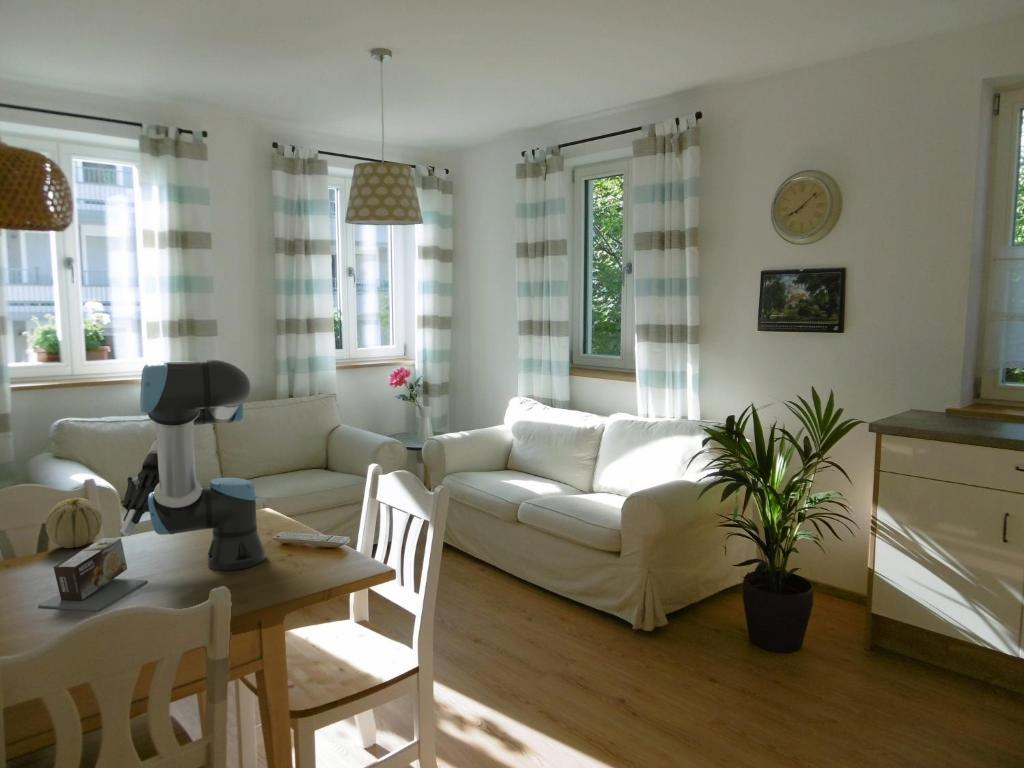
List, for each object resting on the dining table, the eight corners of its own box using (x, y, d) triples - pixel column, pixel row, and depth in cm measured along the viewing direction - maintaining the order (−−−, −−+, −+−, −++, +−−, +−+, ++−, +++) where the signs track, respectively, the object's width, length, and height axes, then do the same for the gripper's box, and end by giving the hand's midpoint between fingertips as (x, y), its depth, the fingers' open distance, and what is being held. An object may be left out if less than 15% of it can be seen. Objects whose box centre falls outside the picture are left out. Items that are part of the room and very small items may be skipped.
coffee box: (100, 537, 191) (51, 565, 176) (121, 537, 190) (74, 565, 174) (107, 570, 193) (60, 600, 177) (128, 570, 192) (82, 600, 176)
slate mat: (147, 582, 190) (147, 580, 190) (97, 611, 172) (97, 609, 172) (92, 578, 192) (92, 577, 192) (38, 607, 175) (37, 605, 175)
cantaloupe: (80, 536, 228) (77, 489, 226) (115, 541, 223) (111, 493, 221) (35, 551, 214) (30, 501, 212) (70, 557, 209) (66, 506, 207)
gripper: (187, 466, 211) (154, 541, 196) (147, 465, 213) (110, 539, 199) (175, 452, 205) (139, 528, 191) (133, 451, 207) (95, 526, 193)
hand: (124, 533), depth 195 cm, fingers closed
